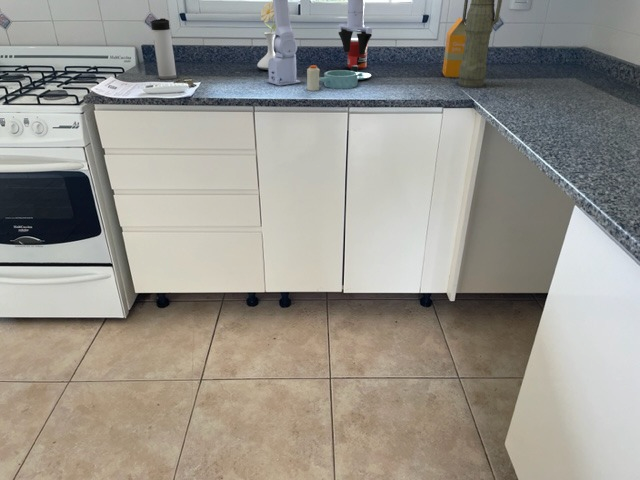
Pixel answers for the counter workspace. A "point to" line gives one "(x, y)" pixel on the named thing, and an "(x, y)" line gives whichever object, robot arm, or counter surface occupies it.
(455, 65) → the orange juice
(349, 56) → the canned food
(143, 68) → the counter surface
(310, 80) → the bottle
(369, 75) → the lid
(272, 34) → the flower in vase
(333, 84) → the pot
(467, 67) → the thermos
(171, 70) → the travel mug
